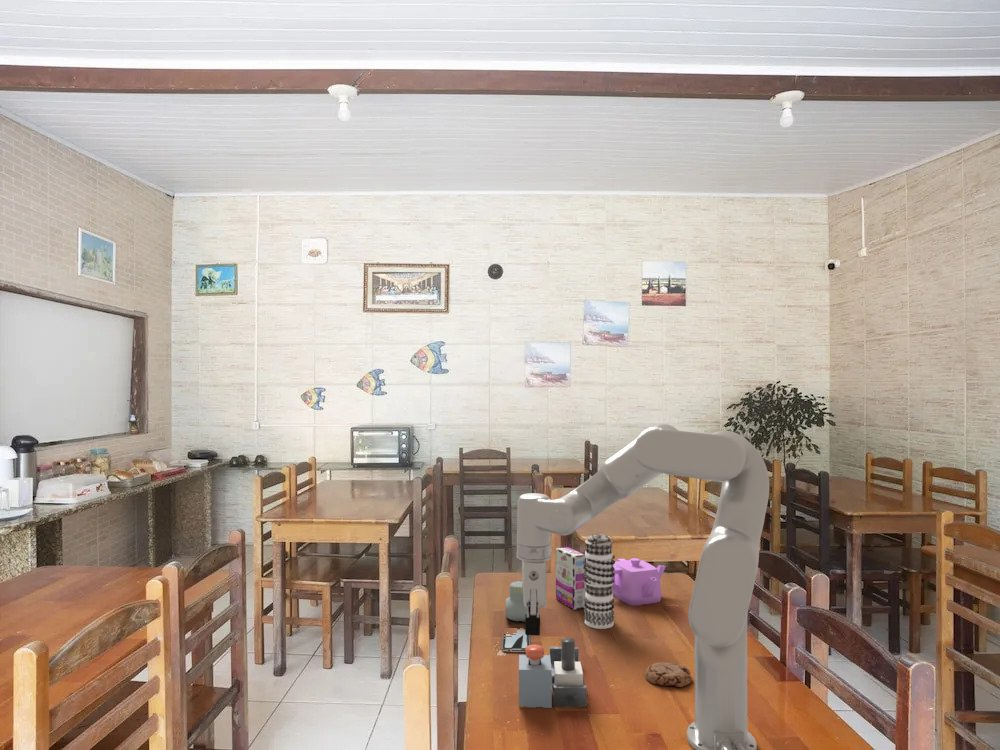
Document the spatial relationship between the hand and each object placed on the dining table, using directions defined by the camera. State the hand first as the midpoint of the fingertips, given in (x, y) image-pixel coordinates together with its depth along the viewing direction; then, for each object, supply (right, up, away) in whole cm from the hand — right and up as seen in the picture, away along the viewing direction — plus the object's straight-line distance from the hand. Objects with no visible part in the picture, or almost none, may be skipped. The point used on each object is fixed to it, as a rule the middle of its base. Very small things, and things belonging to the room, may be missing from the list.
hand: (532, 633), depth 132 cm
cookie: (+32, -15, +8) cm, 37 cm away
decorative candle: (+22, -15, +41) cm, 49 cm away
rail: (+8, -14, +6) cm, 18 cm away
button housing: (+1, -14, 0) cm, 14 cm away
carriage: (+8, -13, +2) cm, 15 cm away
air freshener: (-1, -15, +45) cm, 47 cm away
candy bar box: (+15, -15, +56) cm, 60 cm away
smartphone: (-3, -15, +30) cm, 34 cm away
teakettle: (+37, -15, +61) cm, 73 cm away
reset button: (+1, -9, 0) cm, 9 cm away
